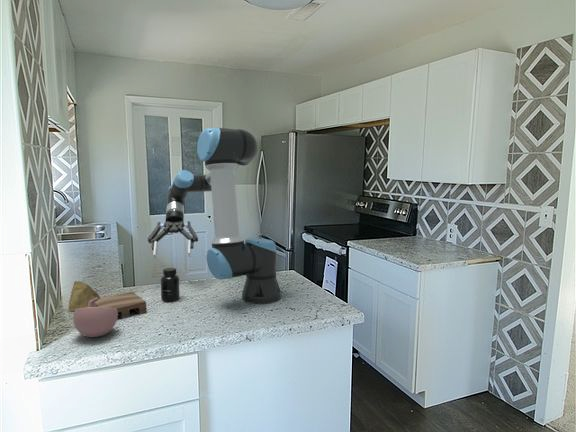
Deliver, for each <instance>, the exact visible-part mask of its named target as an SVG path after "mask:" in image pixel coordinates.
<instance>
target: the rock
mask: <svg viewBox="0 0 576 432" xmlns="http://www.w3.org/2000/svg"><path fill="white" fill-rule="evenodd" d="M72 285H73V286H72V288H71V293H70V297H69V301H68V311H67V312H68V313H72V312H75V310H76V309H78V308H85V307H88V303H89V301H90V300H93V299H94V298H96V297H98V299H100V298H101V297H100V295H99V293H98V292H97V291H95V290H94V289H93V288H92V287H91V286H90V285H89V284H87V283H85V282H83V281H80V280H77V281H74V282H73V284H72ZM92 307H93V304H92Z"/></svg>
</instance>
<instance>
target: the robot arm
mask: <svg viewBox="0 0 576 432" xmlns="http://www.w3.org/2000/svg"><path fill="white" fill-rule="evenodd" d="M196 146H197V147H196V149H197V156H198V159H199V160H200V161H201V162H204V167H205V168H206V169H207V170H208V171H207V172H206V173H205V174H193V172H191V171H189V170H186V169H182V170H179V171H178V172H177V174H175V175H176V176H175V177H174V179H173V182H172V184H171V185H170V186H169V187H168V190H167V199H166V200H167V202H166V210H165V211H166V212H165V220H164V221H165V222H164V223H161V222H160V221H159V222H156V223H157V224H156V226H155V228H154V230H153V231H152V232H151V234H150V235H149V236H148V237H147V242H148V244H151V248H150V249H151V250H152V251H153V253H152V254H153V258H154V259H157V254H158V253H157V252H158V243H159V241H161V239H163V238H164V237H166V235H168V234H174V233H175V234H179V233H180V234H181V235H183V236H184V237H185V238H186V239H187V240H188V242H187V243H188V245H187V246H188V247H187V256H188V257H191V255H192V254H191V252H192V250H193V249H194V245H195V244H194V243H195V242H196V243H197V242H198V241H199V237H198V235H197V234H196V232H195V229H194V228H193V227H192V225H191V221H189V220H188V221H187V222H184V219H185V216H184V215H185V201H186V197H187V196H188V194H189V193H196V192H198V193H199V192H201V193H203V192H211V200H212V202H211V203H212V209H213V210H212V212H213V222H214V224H213V225H214V239H213V240H212V241H211V247H210V248H209V249H208V250H207V251H206V257H205V258H206V263H207V267H208V270H209V272H210V273H211V275H212V276H213V277H214V278H215V279H218V280H220V281H221V280H230V279H233V278H238V277H242V276H245V281H244V285H243V288H242V291H241V299H242V300H243V301H244V302H246V303H249V304H258V305H259V304H264V305H265V304H271V303H274V302H277V301H279V300H280V299H281V296H282V294H281V293H282V292H281V291H282V290H281V287H280V284H279V282H278V279H277V245H276V243H275V241H273V240H271V239H267V238H259V237H248V238H247V237H246V238H245V239H244V238H243V237H242V236H241V235H240V229H239V216H238V205H237V204H238V202H237V193H236V189H237V188H236V180H235V172H237V170H239V169H240V168H241V167H243V166H247V165H250V163H252V162H253V161H254V159H256V157H257V155H258V153H259V152H258V151H259V145H258V142H257V139H256V138H255V136H254V135H253V134H252V133H251V132H249V131H248V130H245V129H240V128H238V129H235V128H225V127H207V128H205V129H203V130H202V132H200V135H199V138H198V140H197V145H196ZM184 227H185V228H187V229H188V231H189V233H188V232H187V231H186V229H185V228H184Z"/></svg>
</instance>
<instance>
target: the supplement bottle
mask: <svg viewBox="0 0 576 432" xmlns="http://www.w3.org/2000/svg"><path fill="white" fill-rule="evenodd" d="M162 270H163V271H162V275H163V276H161V278H160V297H161V298H160V299H161V301H162V302H163V303H164V302H165V303H173V301H174V302H177V301H178V300H180V291H181V290H180V277H179V276H178V275H177V273H178V272H177V268H175V267H166V268H164V269H162ZM176 300H177V301H176Z"/></svg>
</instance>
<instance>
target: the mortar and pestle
mask: <svg viewBox="0 0 576 432" xmlns="http://www.w3.org/2000/svg"><path fill="white" fill-rule="evenodd" d="M97 300H98V297H96V298H94V299H93V300H90V301H89V303H88V307H85V308H78V309H76V310H75V311H73V317H72V321H73V325H74V327H75V329H76V331H77V332H78V333H79V334H81V335H82V336H84V337H88V338H98V337H102V336H104V335H106V334H109V332H110V331H111V330H112V329H113V328H114V327H115V325H116V324H117V321H118V317H119V315H118V310H117V309H115V308H109V307H92V304H93V303H94V302H96V301H97Z"/></svg>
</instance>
